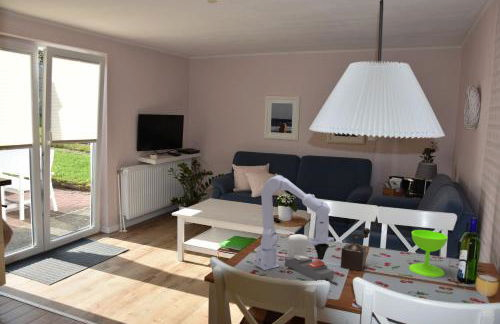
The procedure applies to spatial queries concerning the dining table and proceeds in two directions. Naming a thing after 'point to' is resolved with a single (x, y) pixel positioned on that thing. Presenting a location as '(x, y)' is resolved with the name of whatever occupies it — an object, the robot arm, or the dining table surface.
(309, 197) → the robot arm
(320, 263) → the red rocker
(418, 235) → the wineglass
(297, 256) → the grey rocker
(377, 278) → the dining table surface
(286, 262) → the power strip
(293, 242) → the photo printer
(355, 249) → the manual coffee grinder
